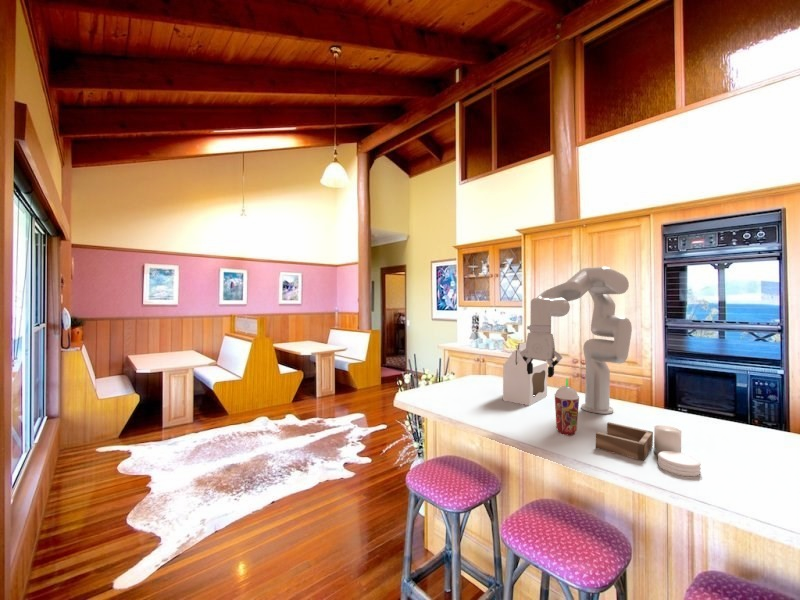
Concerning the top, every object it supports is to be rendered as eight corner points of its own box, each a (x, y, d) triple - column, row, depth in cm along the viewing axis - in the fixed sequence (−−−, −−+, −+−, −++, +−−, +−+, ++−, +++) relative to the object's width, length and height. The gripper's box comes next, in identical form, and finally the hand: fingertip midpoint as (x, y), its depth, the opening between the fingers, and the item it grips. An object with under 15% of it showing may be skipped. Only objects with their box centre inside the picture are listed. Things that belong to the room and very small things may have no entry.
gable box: (521, 391, 194) (522, 338, 193) (547, 396, 185) (547, 341, 184) (502, 400, 177) (503, 342, 177) (529, 406, 168) (529, 345, 168)
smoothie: (576, 438, 130) (576, 382, 130) (551, 433, 135) (552, 379, 135) (581, 431, 137) (581, 378, 136) (557, 427, 142) (557, 375, 141)
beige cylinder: (656, 447, 123) (656, 423, 123) (682, 453, 118) (682, 429, 118) (652, 453, 118) (652, 429, 118) (679, 460, 113) (679, 434, 113)
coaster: (708, 479, 102) (709, 466, 102) (669, 476, 104) (669, 463, 104) (687, 462, 112) (687, 451, 112) (651, 460, 114) (651, 449, 114)
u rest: (608, 435, 133) (608, 422, 133) (652, 446, 124) (652, 431, 124) (595, 448, 122) (595, 433, 122) (643, 460, 113) (643, 444, 113)
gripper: (515, 328, 146) (514, 373, 146) (559, 332, 133) (559, 380, 134) (523, 327, 151) (523, 370, 151) (567, 330, 139) (566, 377, 139)
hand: (540, 374), depth 142 cm, fingers open, 7 cm apart
